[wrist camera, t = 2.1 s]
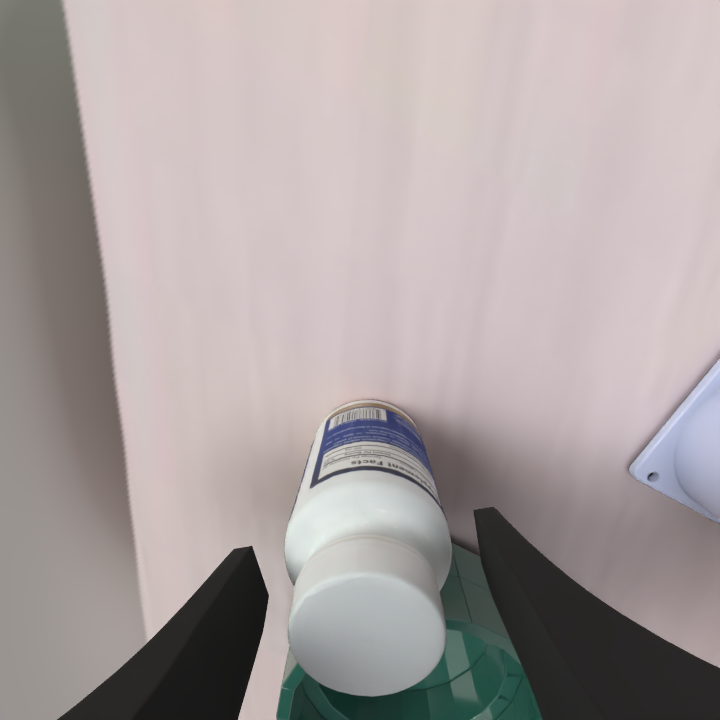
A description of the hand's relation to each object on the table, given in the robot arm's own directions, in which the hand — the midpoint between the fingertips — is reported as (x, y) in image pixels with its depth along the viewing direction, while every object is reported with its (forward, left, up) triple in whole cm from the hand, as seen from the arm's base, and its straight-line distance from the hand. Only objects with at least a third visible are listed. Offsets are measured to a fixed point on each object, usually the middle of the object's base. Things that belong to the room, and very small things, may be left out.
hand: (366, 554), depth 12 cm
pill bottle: (0, 0, -7) cm, 7 cm away
